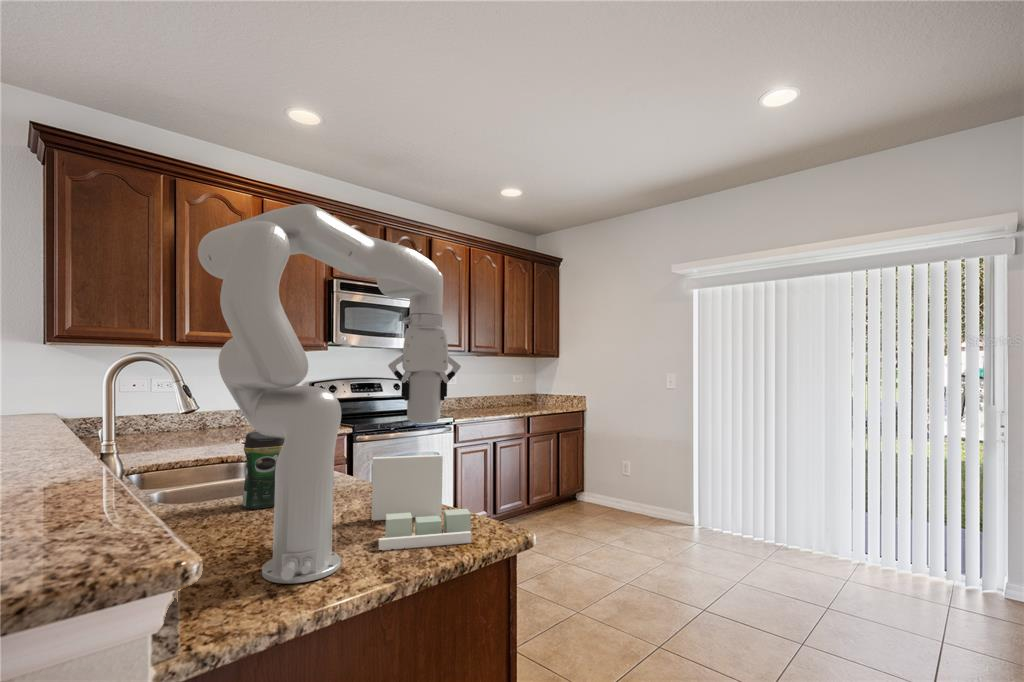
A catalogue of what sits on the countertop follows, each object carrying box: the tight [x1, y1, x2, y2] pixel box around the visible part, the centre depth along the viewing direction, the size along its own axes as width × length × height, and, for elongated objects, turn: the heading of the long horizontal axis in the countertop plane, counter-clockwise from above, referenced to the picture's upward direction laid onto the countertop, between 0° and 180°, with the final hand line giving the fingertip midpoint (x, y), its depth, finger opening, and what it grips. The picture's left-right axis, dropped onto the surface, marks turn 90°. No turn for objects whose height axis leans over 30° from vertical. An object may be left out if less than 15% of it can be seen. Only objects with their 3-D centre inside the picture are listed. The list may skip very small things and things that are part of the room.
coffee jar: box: [242, 431, 285, 510], centre depth 130 cm, size 10×8×19 cm
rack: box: [371, 454, 472, 551], centre depth 111 cm, size 22×19×14 cm
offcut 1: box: [384, 512, 413, 538], centre depth 104 cm, size 4×5×5 cm
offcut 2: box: [443, 508, 472, 533], centre depth 108 cm, size 4×5×5 cm
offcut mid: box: [414, 516, 443, 536], centre depth 106 cm, size 4×5×4 cm
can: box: [406, 370, 442, 424], centre depth 118 cm, size 8×8×12 cm
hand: (424, 399), depth 118 cm, fingers closed on can, 7 cm apart
